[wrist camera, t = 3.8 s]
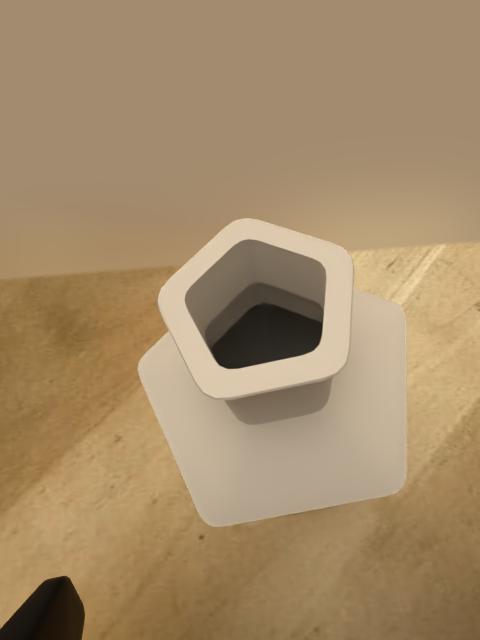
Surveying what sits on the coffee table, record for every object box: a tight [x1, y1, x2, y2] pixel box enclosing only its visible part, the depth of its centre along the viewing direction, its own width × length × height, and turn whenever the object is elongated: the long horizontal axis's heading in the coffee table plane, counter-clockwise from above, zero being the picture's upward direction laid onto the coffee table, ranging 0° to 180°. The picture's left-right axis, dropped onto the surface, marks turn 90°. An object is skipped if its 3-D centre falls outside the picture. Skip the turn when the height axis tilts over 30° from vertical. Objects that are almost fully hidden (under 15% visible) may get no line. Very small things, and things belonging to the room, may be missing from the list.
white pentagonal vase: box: [138, 218, 407, 527], centre depth 11 cm, size 5×4×15 cm
